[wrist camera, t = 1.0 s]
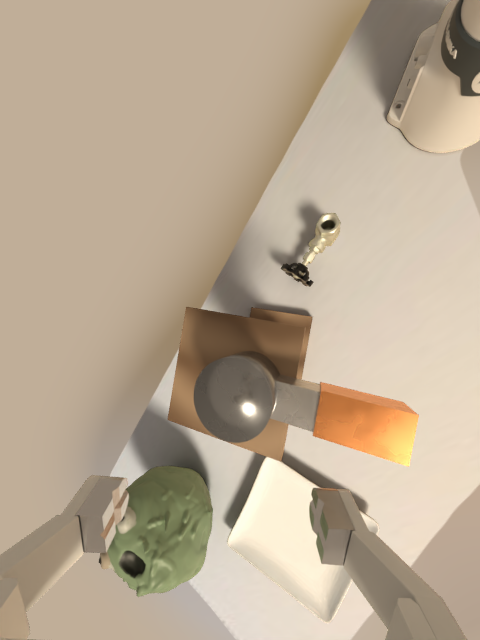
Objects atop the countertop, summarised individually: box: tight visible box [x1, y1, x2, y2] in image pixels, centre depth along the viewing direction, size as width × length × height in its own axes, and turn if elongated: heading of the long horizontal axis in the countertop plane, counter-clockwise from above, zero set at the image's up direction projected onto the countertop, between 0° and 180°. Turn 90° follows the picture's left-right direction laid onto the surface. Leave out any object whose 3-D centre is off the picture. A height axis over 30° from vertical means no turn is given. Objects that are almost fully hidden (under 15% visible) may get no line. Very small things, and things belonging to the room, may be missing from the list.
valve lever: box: [194, 351, 419, 466], centre depth 17 cm, size 6×15×5 cm, turn 80°
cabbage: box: [99, 466, 213, 597], centre depth 42 cm, size 16×19×20 cm
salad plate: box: [227, 457, 380, 623], centre depth 43 cm, size 21×21×3 cm
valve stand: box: [168, 307, 312, 462], centre depth 34 cm, size 16×12×26 cm
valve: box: [281, 213, 341, 287], centre depth 41 cm, size 7×7×12 cm
